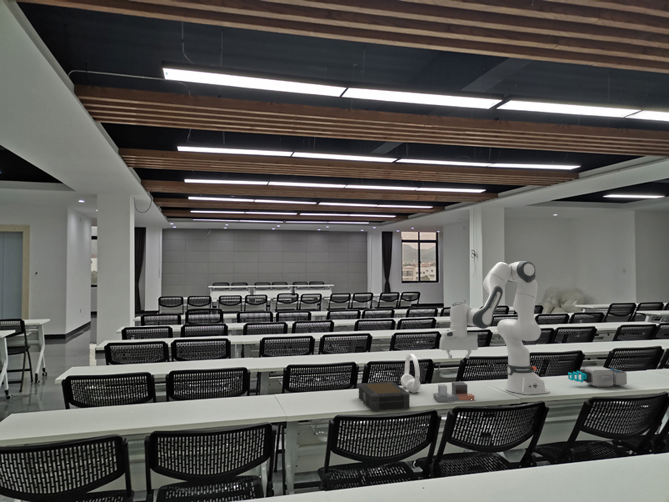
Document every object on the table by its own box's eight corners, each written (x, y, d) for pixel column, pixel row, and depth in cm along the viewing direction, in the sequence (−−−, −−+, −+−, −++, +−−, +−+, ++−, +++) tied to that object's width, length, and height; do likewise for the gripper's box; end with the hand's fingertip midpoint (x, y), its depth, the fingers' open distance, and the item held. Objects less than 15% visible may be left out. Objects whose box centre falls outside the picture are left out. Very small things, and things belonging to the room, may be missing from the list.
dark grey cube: (463, 393, 251) (463, 381, 251) (467, 396, 244) (467, 384, 244) (451, 393, 250) (451, 382, 250) (455, 396, 244) (455, 385, 244)
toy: (562, 365, 273) (611, 365, 274) (562, 382, 272) (612, 382, 273) (577, 371, 256) (630, 371, 257) (578, 390, 256) (630, 389, 257)
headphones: (423, 394, 248) (422, 356, 249) (409, 394, 247) (408, 357, 248) (411, 385, 268) (411, 350, 269) (398, 385, 267) (398, 351, 268)
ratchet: (470, 397, 242) (470, 382, 243) (475, 401, 235) (475, 386, 235) (433, 398, 241) (433, 383, 241) (437, 402, 233) (437, 387, 234)
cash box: (356, 398, 242) (356, 383, 243) (393, 395, 247) (393, 381, 247) (370, 412, 218) (370, 395, 218) (410, 409, 222) (410, 393, 223)
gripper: (475, 331, 252) (475, 357, 252) (438, 331, 251) (438, 357, 251) (479, 333, 246) (479, 359, 246) (442, 333, 245) (442, 359, 244)
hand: (458, 358), depth 248 cm, fingers open, 8 cm apart
